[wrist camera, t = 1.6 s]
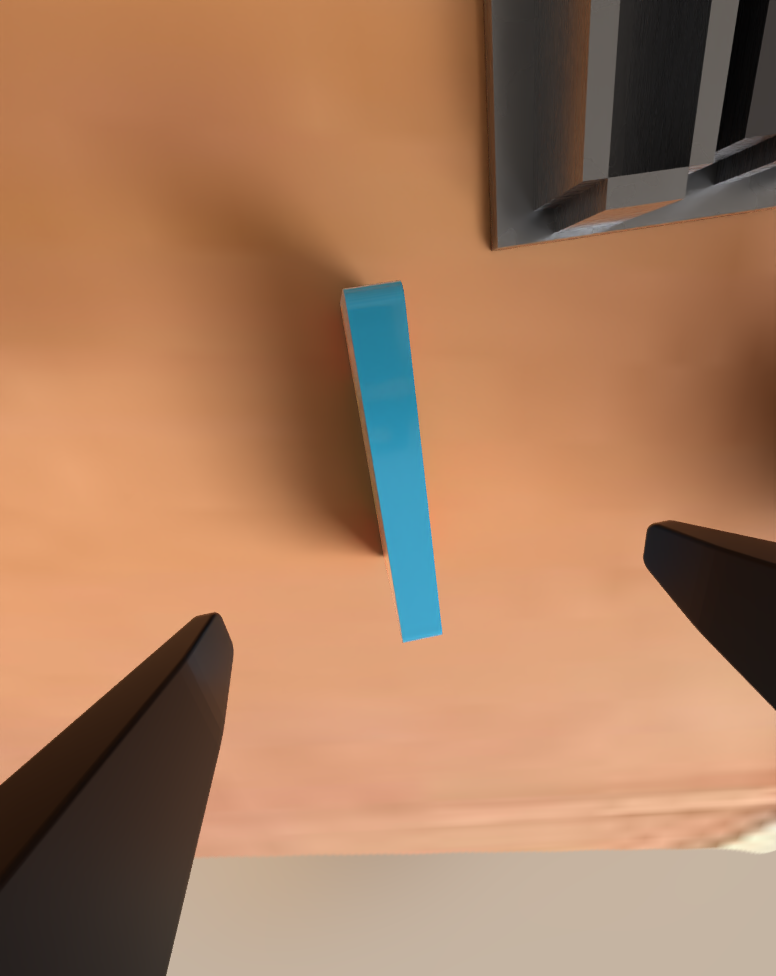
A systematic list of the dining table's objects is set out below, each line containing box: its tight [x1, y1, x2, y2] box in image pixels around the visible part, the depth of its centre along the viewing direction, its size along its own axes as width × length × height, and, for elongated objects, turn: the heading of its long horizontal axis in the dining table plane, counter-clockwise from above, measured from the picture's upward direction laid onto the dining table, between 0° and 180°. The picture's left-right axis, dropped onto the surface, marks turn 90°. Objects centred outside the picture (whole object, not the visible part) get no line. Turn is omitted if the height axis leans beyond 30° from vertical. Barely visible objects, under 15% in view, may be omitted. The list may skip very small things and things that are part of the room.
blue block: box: [340, 280, 442, 643], centre depth 14 cm, size 12×2×6 cm, turn 8°
